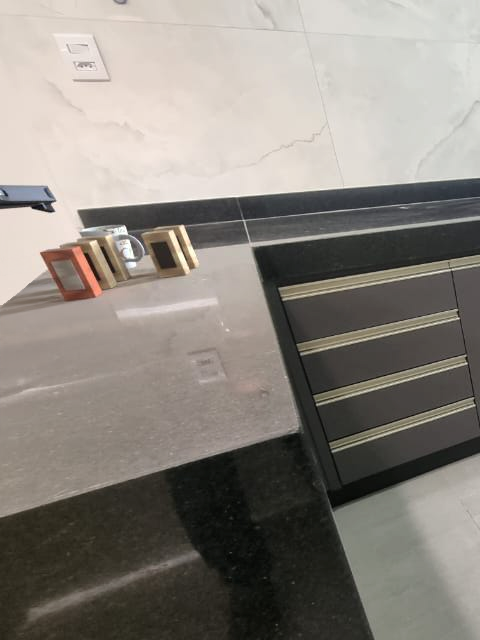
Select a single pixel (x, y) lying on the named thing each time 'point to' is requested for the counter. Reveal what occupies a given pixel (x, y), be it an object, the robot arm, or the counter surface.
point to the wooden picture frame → (170, 250)
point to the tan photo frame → (102, 259)
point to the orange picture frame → (71, 273)
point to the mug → (118, 241)
